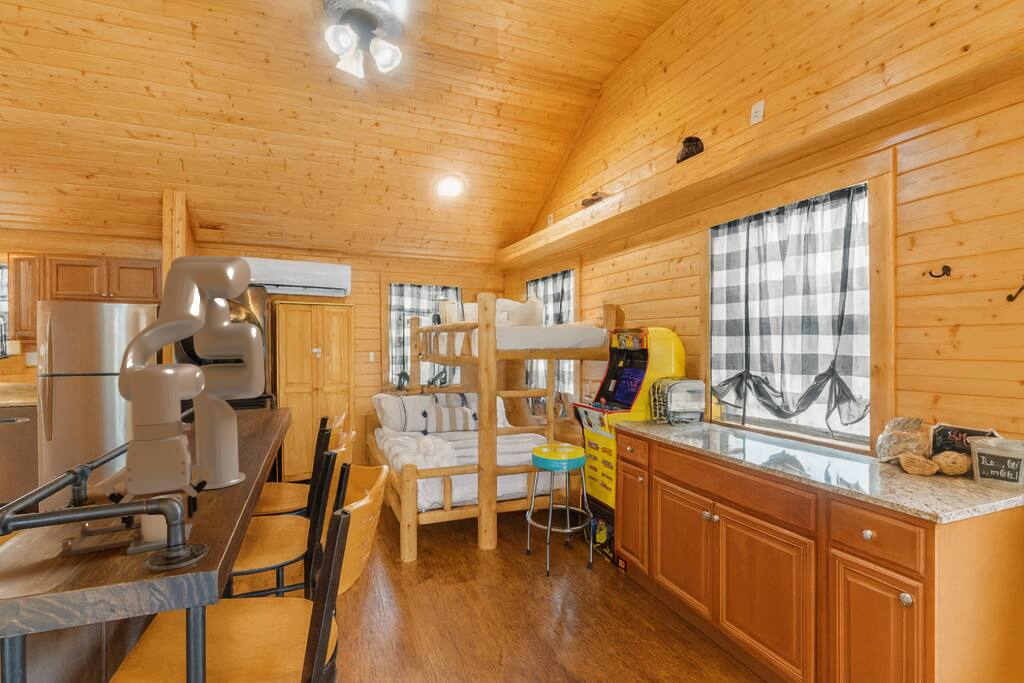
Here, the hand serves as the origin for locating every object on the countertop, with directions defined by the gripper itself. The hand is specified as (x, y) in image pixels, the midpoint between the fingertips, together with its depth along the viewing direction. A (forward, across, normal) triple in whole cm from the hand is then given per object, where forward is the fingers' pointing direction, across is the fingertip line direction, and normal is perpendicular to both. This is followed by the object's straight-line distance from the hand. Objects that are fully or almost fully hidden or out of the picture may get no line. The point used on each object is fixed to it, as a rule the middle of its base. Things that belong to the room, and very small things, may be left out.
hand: (161, 521), depth 93 cm
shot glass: (+3, 0, 0) cm, 3 cm away
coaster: (+4, 0, 0) cm, 4 cm away
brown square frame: (+4, +9, -6) cm, 11 cm away
